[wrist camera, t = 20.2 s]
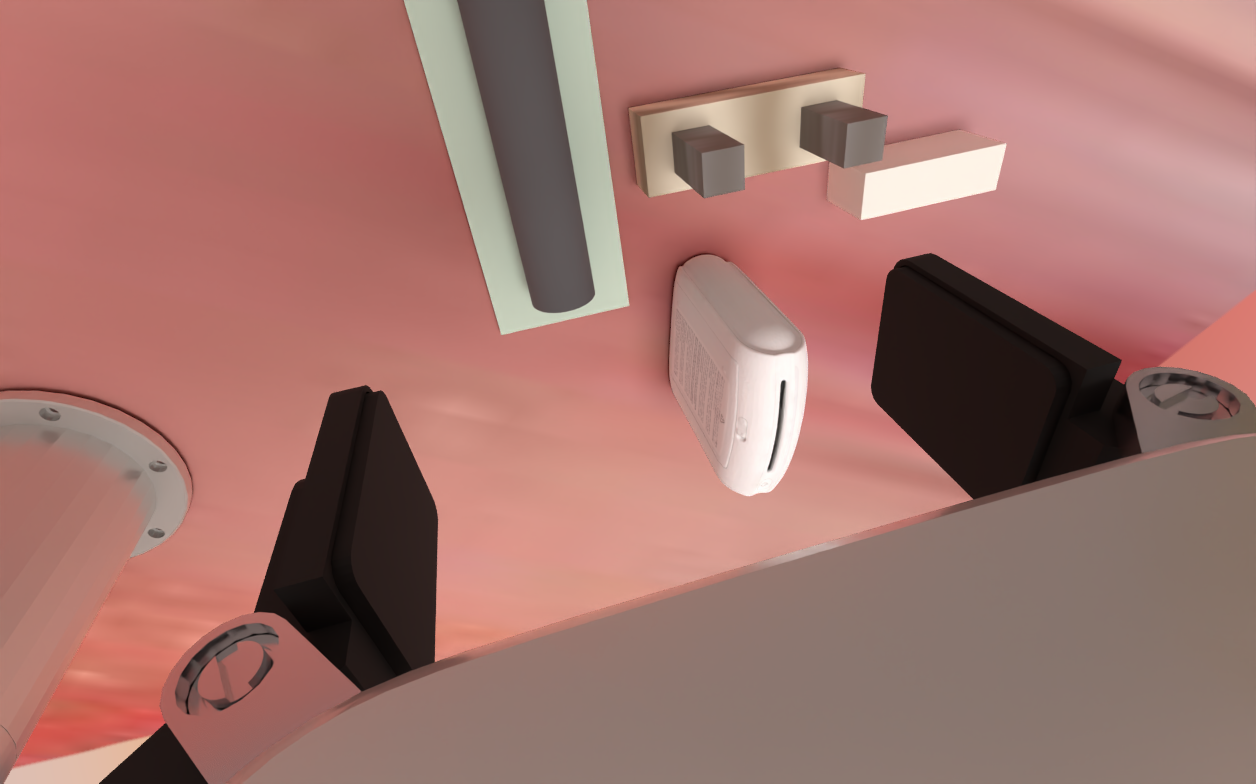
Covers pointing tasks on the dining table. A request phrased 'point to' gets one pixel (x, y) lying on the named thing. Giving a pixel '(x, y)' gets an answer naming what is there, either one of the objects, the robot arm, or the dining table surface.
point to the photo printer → (737, 373)
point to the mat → (478, 168)
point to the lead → (531, 146)
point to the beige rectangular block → (918, 174)
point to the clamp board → (754, 133)
